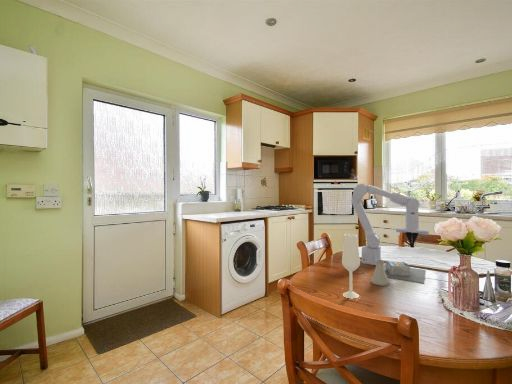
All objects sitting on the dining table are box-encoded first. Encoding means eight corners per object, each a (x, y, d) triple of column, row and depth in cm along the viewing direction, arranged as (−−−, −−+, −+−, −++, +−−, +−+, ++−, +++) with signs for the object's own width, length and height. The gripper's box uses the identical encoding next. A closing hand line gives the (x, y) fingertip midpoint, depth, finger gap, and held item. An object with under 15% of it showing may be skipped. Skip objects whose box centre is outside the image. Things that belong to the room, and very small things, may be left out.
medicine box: (410, 266, 121) (390, 265, 123) (410, 276, 121) (390, 275, 123) (404, 261, 129) (385, 260, 130) (404, 270, 129) (385, 269, 131)
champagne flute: (345, 290, 107) (345, 232, 106) (362, 295, 103) (362, 234, 102) (339, 296, 102) (338, 235, 101) (356, 301, 97) (356, 237, 97)
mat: (378, 276, 123) (378, 275, 123) (385, 264, 139) (385, 264, 139) (423, 283, 113) (424, 282, 113) (425, 270, 129) (425, 269, 129)
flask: (381, 287, 110) (381, 264, 109) (367, 282, 116) (367, 259, 116) (392, 284, 113) (392, 261, 113) (378, 279, 119) (377, 257, 119)
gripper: (395, 221, 135) (395, 247, 136) (428, 223, 127) (428, 250, 127) (396, 219, 141) (397, 244, 141) (429, 221, 133) (429, 247, 133)
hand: (412, 247), depth 135 cm, fingers closed
